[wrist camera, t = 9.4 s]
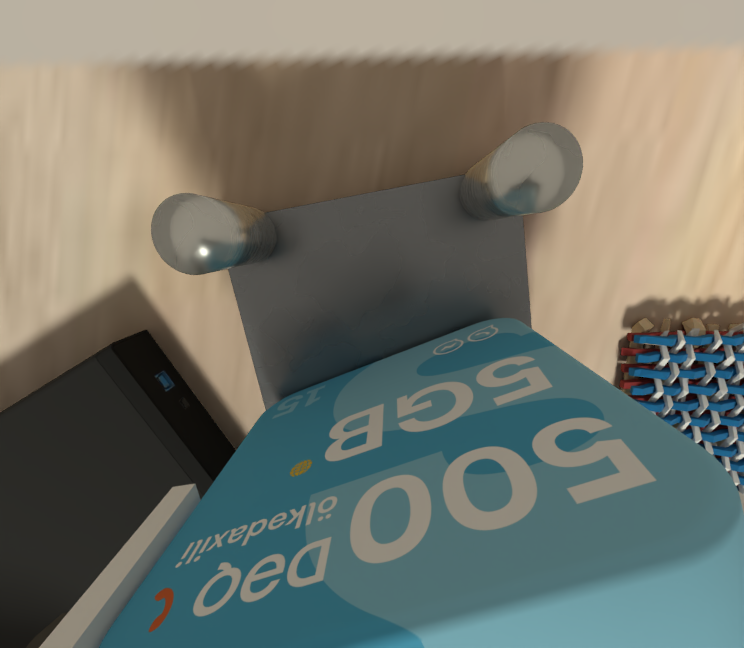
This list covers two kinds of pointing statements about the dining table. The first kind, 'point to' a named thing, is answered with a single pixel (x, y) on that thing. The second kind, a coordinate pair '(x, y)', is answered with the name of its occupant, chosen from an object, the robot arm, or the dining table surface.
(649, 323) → the woven mat
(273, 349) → the chassis
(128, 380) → the external hard drive
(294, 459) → the data package
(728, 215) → the dining table surface
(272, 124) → the dining table surface
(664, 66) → the dining table surface
